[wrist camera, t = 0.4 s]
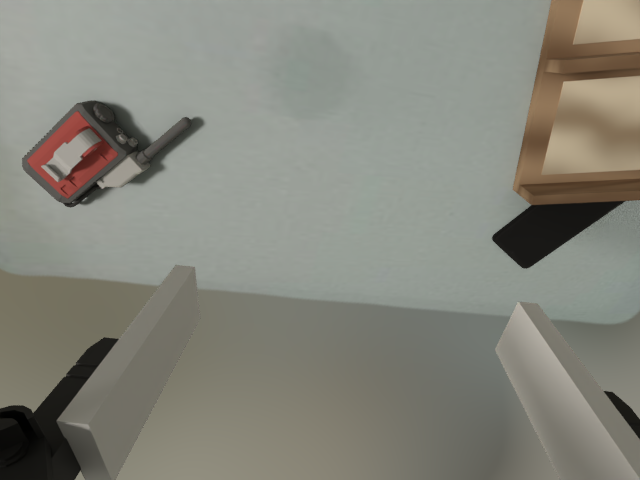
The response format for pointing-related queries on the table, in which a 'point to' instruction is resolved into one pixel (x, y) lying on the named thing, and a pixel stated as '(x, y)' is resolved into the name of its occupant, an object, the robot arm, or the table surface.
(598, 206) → the smartphone
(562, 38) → the frame
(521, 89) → the table surface
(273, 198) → the table surface
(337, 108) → the table surface
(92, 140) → the walkie-talkie
